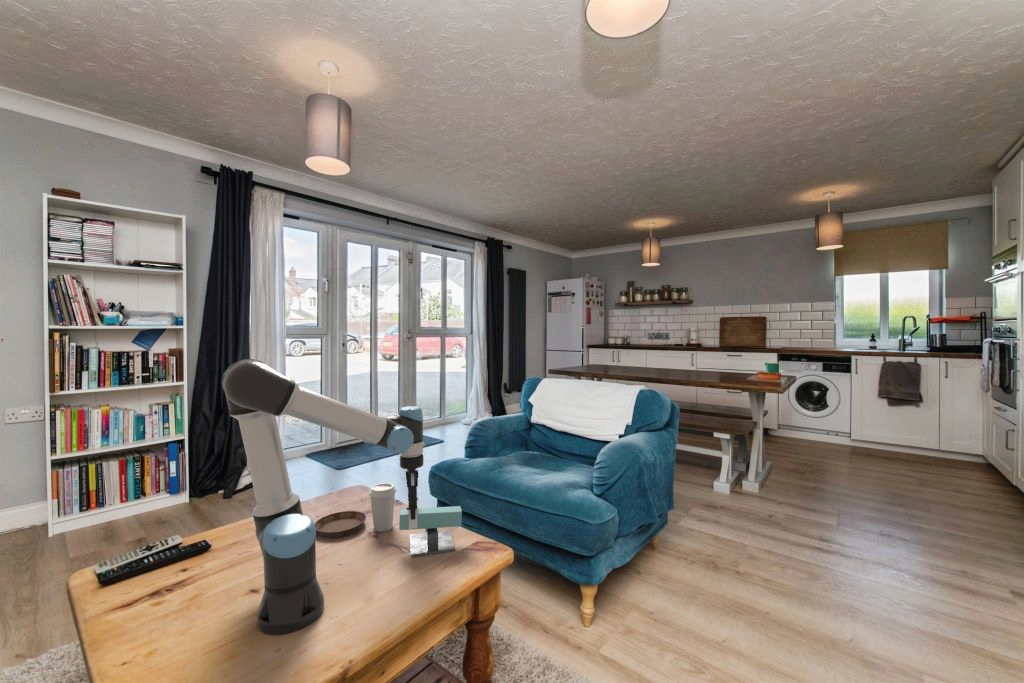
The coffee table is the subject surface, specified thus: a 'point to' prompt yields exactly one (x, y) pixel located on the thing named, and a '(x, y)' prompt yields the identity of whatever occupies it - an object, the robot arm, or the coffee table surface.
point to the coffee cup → (382, 506)
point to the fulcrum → (431, 542)
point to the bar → (432, 517)
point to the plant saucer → (340, 523)
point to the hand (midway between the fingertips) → (412, 524)
